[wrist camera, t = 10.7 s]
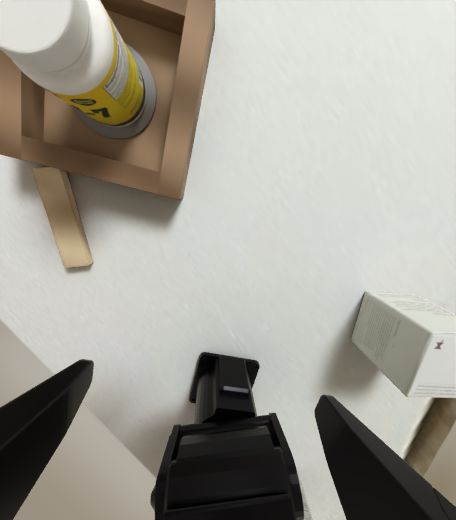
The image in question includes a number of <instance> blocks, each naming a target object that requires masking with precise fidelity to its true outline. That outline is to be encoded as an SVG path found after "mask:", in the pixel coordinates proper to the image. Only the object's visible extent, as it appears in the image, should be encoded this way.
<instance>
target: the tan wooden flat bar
mask: <svg viewBox="0 0 456 520" xmlns="http://www.w3.org/2000/svg"><path fill="white" fill-rule="evenodd" d="M32 172H33V175H34V178H35V181H36V184H37V187H38V190H39V193H40V196H41V198H42V201H43V204H44V207H45V210H46V213H47V216H48V219H49V222H50V225H51V228H52V231H53V234H54V237H55V240H56V243H57V246H58V249H59V252H60V255H61V258H62V261H63V264H64V266H65V268H70V267H78V266H87V265H90V264H92V263H93V260H92V256H91V253H90V250H89V246H88V243H87V240H86V236H85V233H84V229H83V226H82V223H81V219H80V216H79V213H78V209H77V206H76V202H75V199H74V196H73V192H72V189H71V186H70V182H69V179H68V175H67V172H66V171H64V170H60V169H56V168H52V167H43V168H33V169H32Z"/></svg>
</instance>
